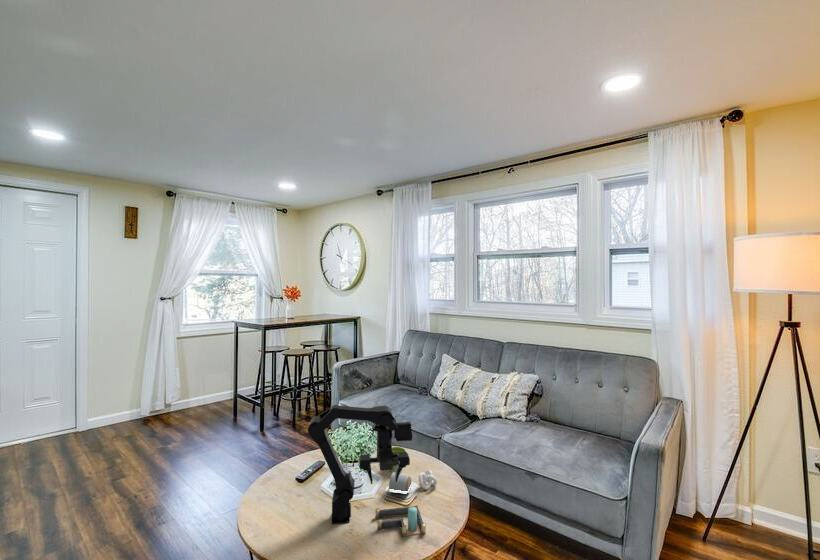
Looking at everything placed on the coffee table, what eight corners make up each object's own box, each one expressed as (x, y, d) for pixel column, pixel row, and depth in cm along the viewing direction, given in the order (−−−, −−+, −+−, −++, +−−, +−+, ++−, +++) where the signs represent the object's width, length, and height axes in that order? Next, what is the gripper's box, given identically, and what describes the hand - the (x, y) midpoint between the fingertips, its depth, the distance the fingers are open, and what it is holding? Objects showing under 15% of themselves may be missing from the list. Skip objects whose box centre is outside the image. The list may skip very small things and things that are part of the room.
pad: (406, 535, 135) (406, 534, 135) (404, 526, 140) (404, 525, 140) (420, 533, 136) (420, 532, 136) (417, 524, 141) (417, 523, 141)
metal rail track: (379, 540, 132) (379, 531, 132) (375, 516, 145) (375, 508, 145) (426, 534, 135) (426, 526, 135) (417, 511, 149) (417, 503, 149)
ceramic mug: (407, 499, 157) (407, 479, 157) (388, 496, 159) (388, 477, 159) (413, 485, 167) (413, 467, 167) (395, 483, 169) (395, 465, 169)
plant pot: (409, 468, 182) (409, 449, 182) (398, 476, 174) (398, 457, 174) (393, 462, 187) (393, 445, 187) (381, 471, 179) (381, 452, 179)
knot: (416, 482, 170) (416, 468, 170) (433, 480, 172) (433, 467, 171) (419, 491, 163) (419, 477, 162) (438, 489, 164) (438, 475, 164)
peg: (417, 531, 136) (417, 511, 136) (408, 532, 136) (408, 512, 136) (415, 525, 140) (416, 506, 140) (407, 526, 139) (407, 507, 139)
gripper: (360, 452, 136) (360, 496, 136) (412, 449, 140) (412, 492, 140) (359, 439, 147) (358, 480, 147) (407, 436, 151) (406, 476, 151)
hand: (383, 482), depth 146 cm, fingers open, 9 cm apart
